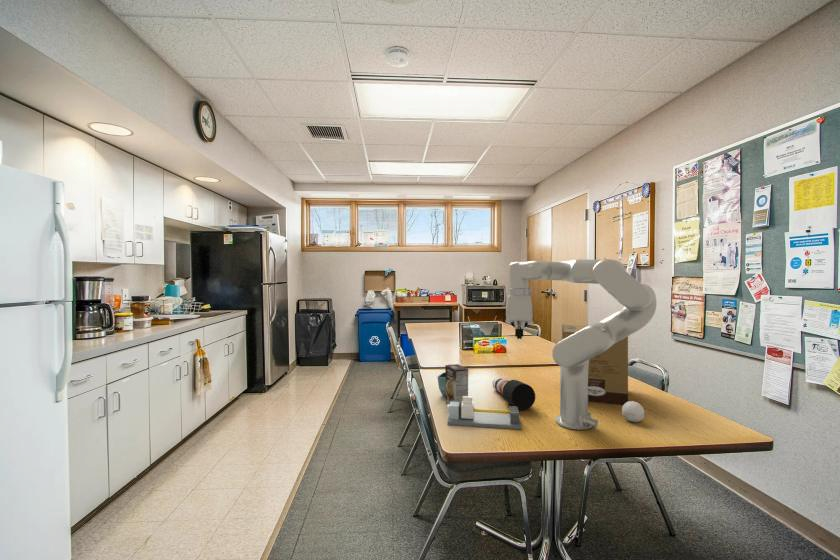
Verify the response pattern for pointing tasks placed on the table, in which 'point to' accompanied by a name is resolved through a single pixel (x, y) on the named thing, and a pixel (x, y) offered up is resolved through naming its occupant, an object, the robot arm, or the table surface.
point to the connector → (454, 410)
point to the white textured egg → (633, 411)
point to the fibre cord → (491, 411)
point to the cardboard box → (606, 371)
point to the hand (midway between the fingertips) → (519, 338)
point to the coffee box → (456, 383)
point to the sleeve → (467, 408)
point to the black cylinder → (515, 392)
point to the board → (491, 420)
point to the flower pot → (442, 383)
